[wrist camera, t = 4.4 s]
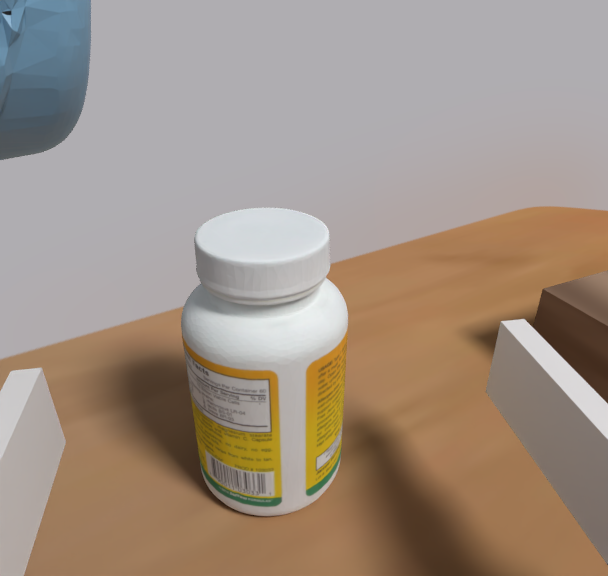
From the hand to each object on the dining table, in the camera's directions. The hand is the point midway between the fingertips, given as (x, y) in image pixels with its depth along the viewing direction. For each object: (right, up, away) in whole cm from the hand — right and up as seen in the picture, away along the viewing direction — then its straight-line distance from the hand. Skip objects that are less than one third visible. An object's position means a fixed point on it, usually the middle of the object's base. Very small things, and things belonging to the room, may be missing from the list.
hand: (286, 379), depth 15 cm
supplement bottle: (-1, -4, +5) cm, 6 cm away
